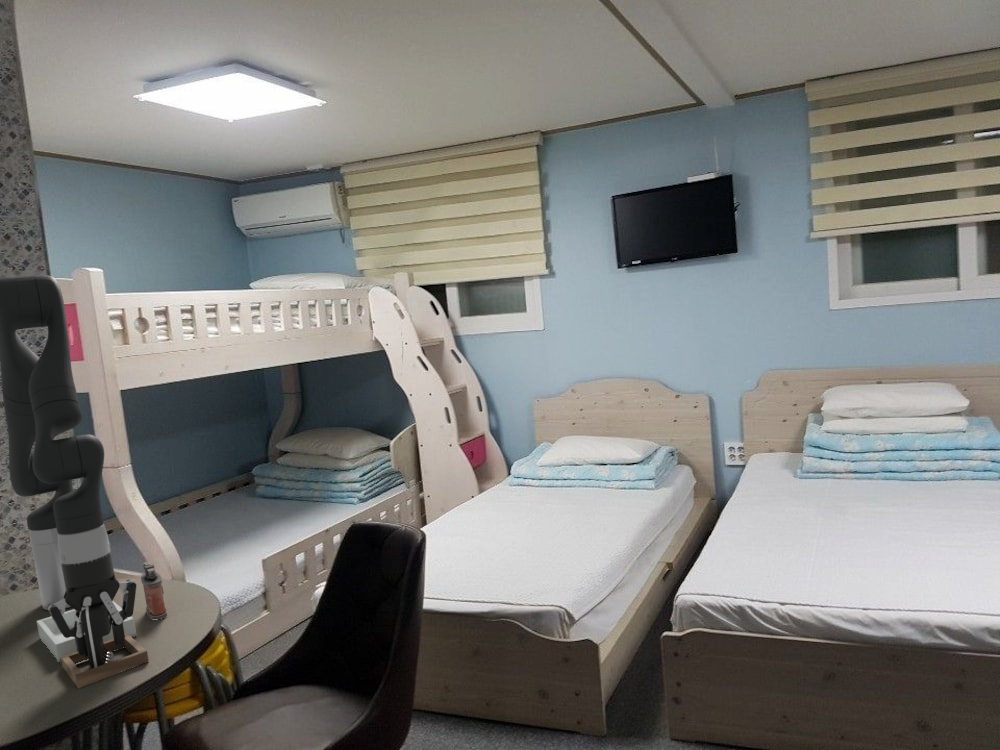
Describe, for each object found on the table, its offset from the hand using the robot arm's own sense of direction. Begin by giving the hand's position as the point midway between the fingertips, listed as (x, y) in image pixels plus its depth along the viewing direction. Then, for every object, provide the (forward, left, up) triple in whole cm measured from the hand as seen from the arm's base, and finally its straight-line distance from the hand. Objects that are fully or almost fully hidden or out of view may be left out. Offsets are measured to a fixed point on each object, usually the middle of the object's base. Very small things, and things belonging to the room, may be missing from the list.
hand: (102, 649), depth 137 cm
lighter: (-16, +14, -3) cm, 22 cm away
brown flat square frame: (0, 0, -3) cm, 3 cm away
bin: (-16, +1, -3) cm, 16 cm away
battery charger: (0, 0, -3) cm, 3 cm away
